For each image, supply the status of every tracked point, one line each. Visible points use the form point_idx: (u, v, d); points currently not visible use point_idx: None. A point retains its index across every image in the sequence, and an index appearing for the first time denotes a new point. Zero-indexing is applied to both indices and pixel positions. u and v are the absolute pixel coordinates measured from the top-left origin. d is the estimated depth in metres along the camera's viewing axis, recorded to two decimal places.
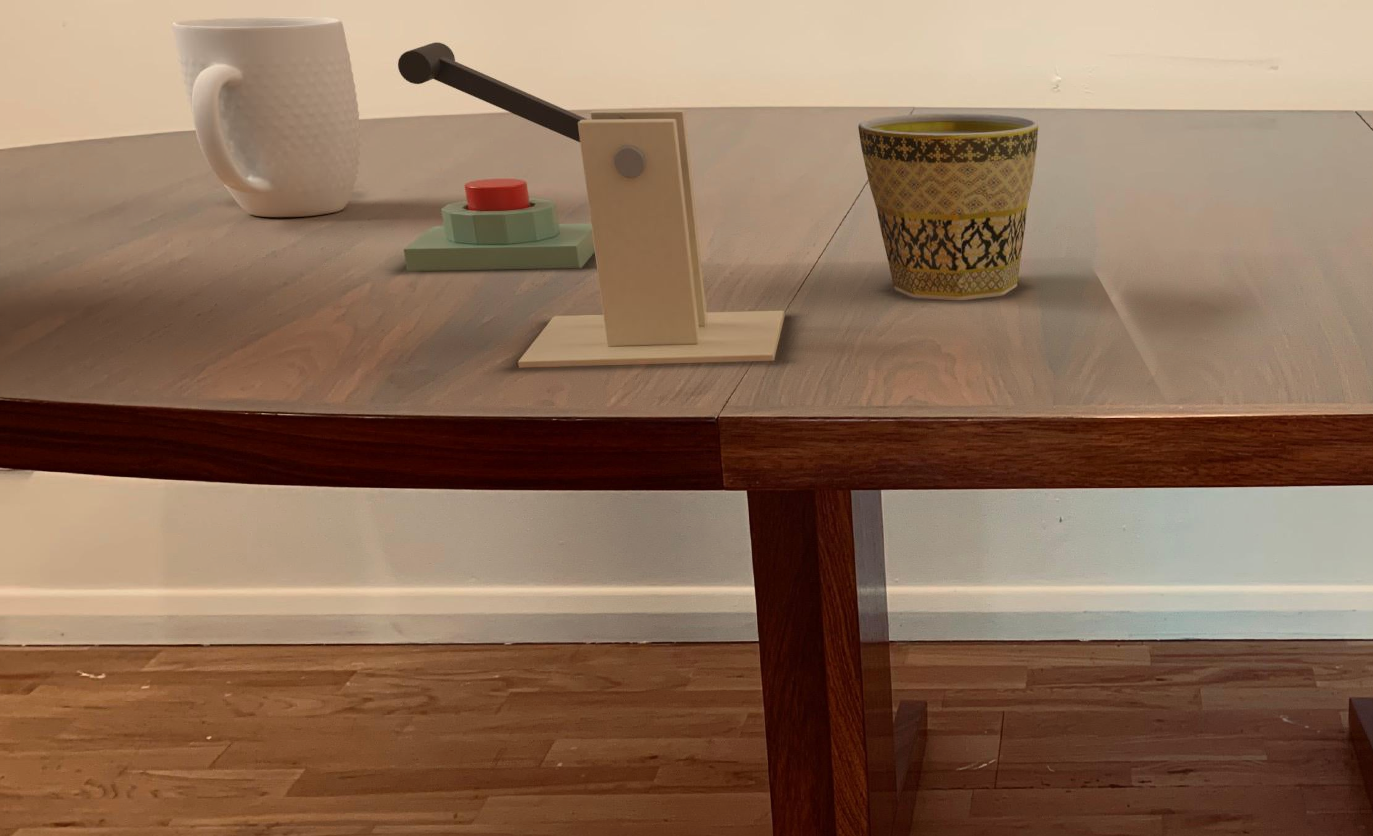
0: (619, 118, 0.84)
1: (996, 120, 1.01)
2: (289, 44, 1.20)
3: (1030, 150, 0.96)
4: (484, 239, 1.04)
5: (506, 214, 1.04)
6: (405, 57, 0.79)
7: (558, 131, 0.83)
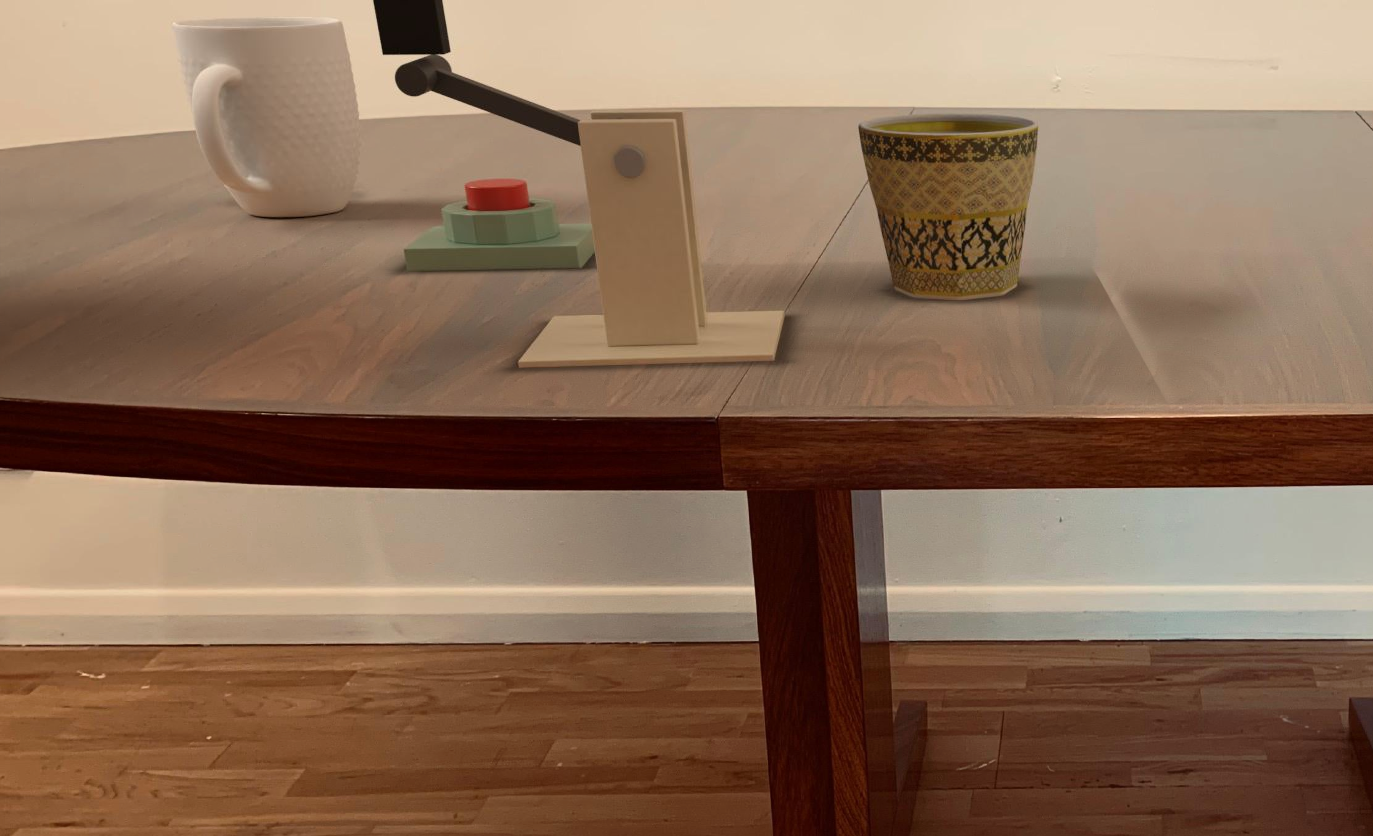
0: None
1: (996, 120, 1.01)
2: (289, 44, 1.20)
3: (1030, 150, 0.96)
4: (484, 239, 1.04)
5: (506, 214, 1.04)
6: (401, 70, 0.79)
7: (557, 136, 0.83)
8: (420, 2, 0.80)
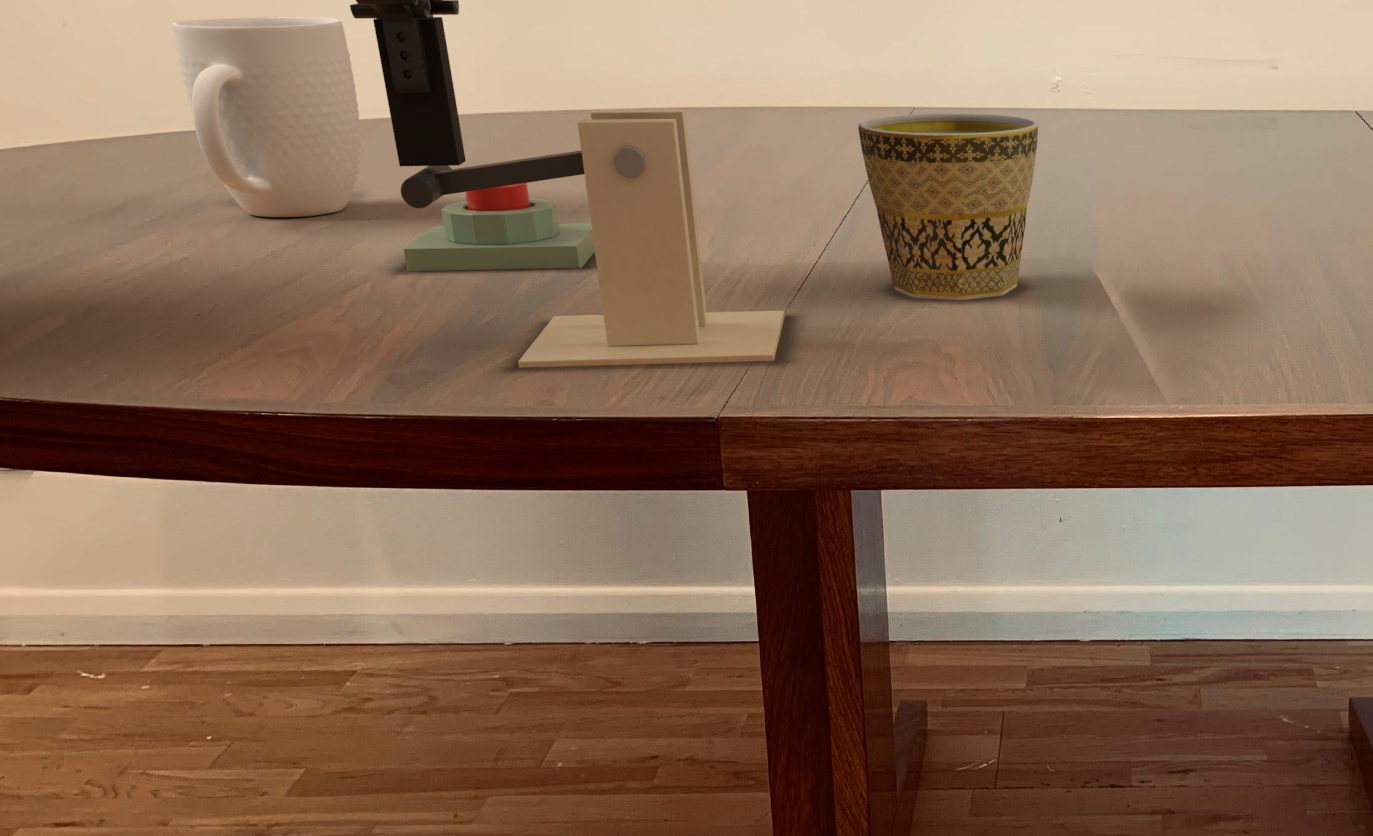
0: None
1: (996, 120, 1.01)
2: (289, 44, 1.20)
3: (1030, 150, 0.96)
4: (484, 239, 1.04)
5: (506, 214, 1.04)
6: (404, 188, 0.81)
7: (562, 175, 0.84)
8: (436, 116, 0.82)
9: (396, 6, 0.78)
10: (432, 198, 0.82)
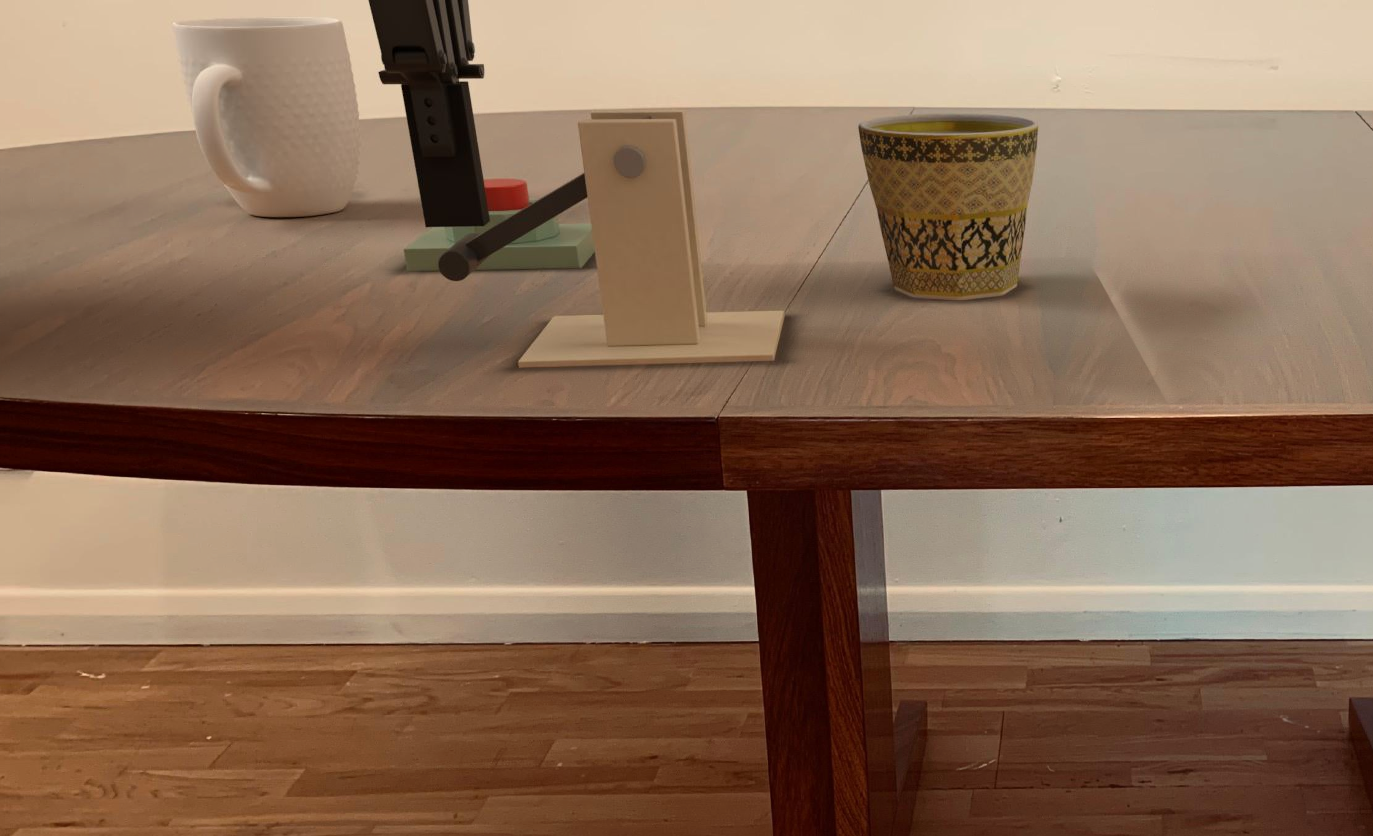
0: None
1: (996, 120, 1.01)
2: (289, 44, 1.20)
3: (1030, 150, 0.96)
4: None
5: (506, 214, 1.04)
6: (441, 266, 0.83)
7: (577, 200, 0.84)
8: (462, 178, 0.83)
9: (424, 74, 0.79)
10: (469, 266, 0.83)
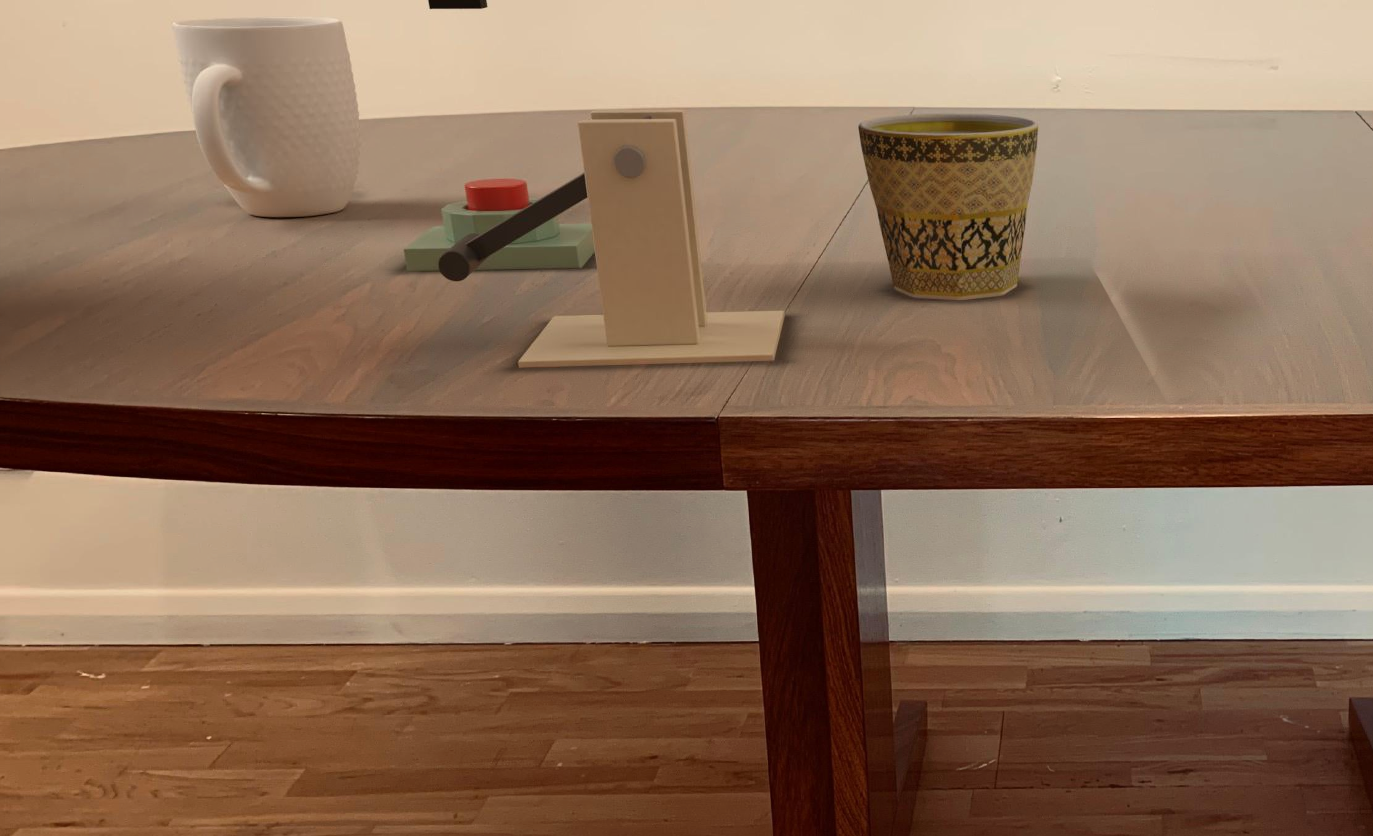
0: None
1: (996, 120, 1.01)
2: (289, 44, 1.20)
3: (1030, 150, 0.96)
4: None
5: (506, 214, 1.04)
6: (441, 266, 0.83)
7: (577, 201, 0.84)
8: None
9: None
10: (469, 266, 0.83)
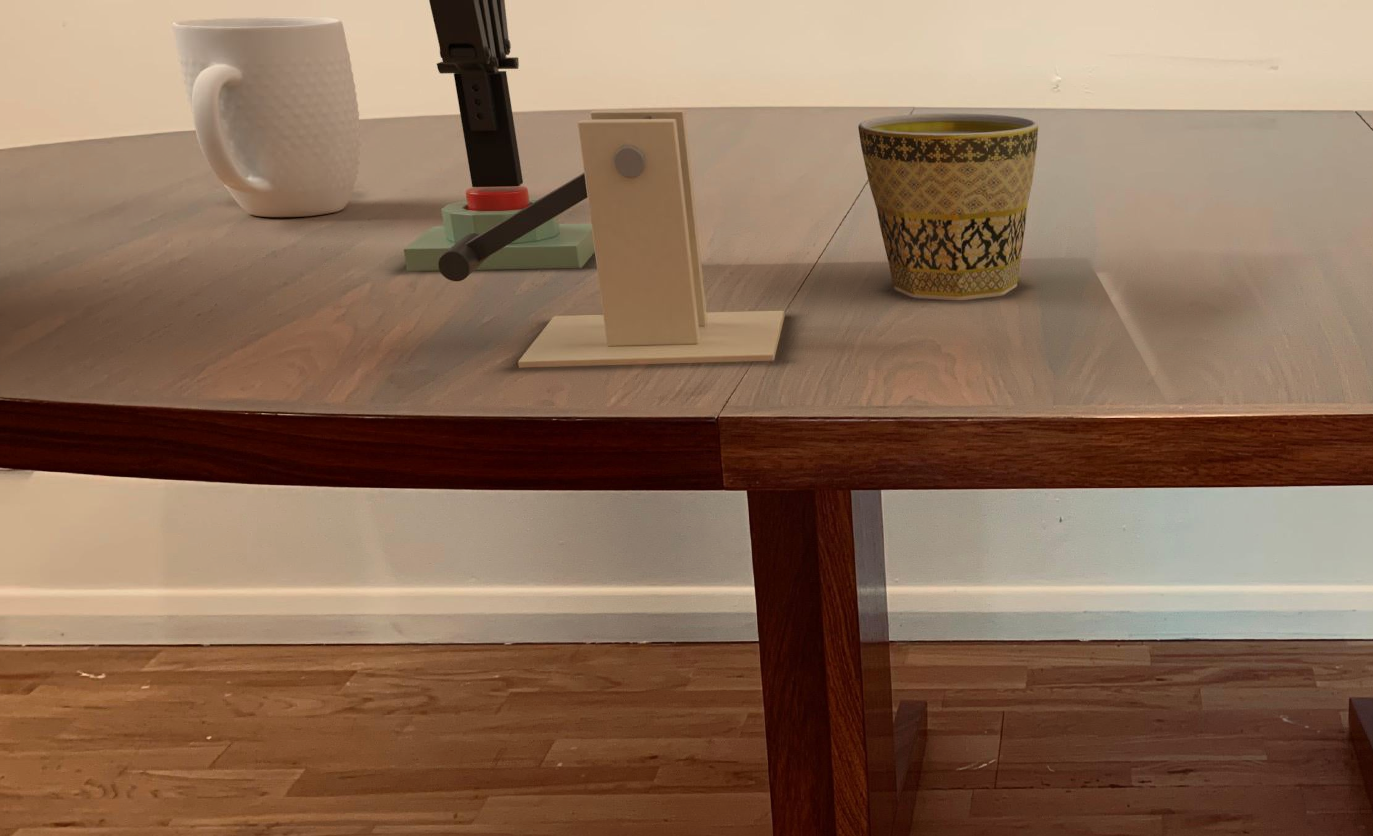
0: None
1: (996, 120, 1.01)
2: (289, 44, 1.20)
3: (1030, 150, 0.96)
4: None
5: (506, 214, 1.04)
6: (441, 266, 0.83)
7: (577, 201, 0.84)
8: (501, 148, 1.05)
9: (473, 65, 1.01)
10: (469, 266, 0.83)
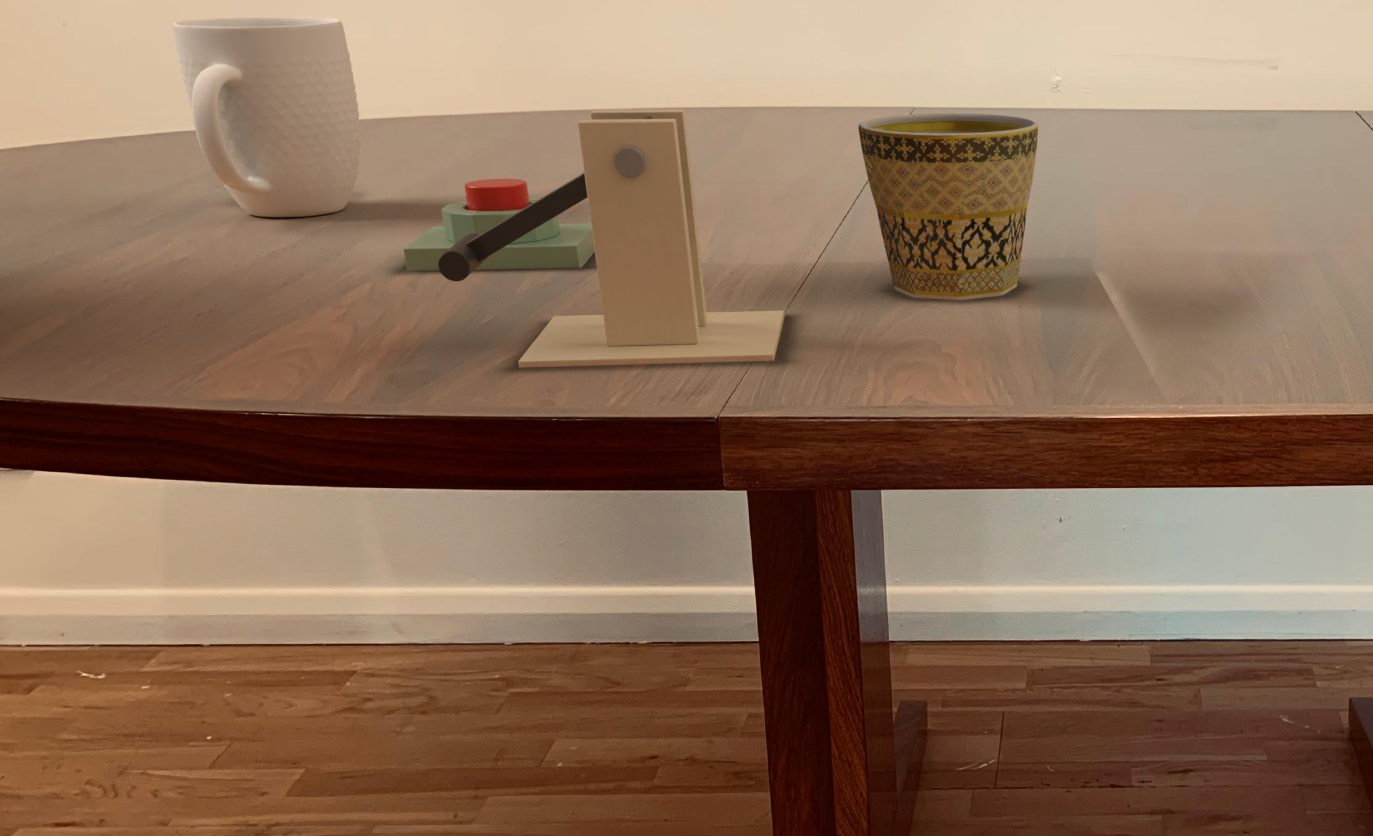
0: None
1: (996, 120, 1.01)
2: (289, 44, 1.20)
3: (1030, 150, 0.96)
4: None
5: (506, 214, 1.04)
6: (441, 266, 0.83)
7: (577, 201, 0.84)
8: None
9: None
10: (469, 266, 0.83)
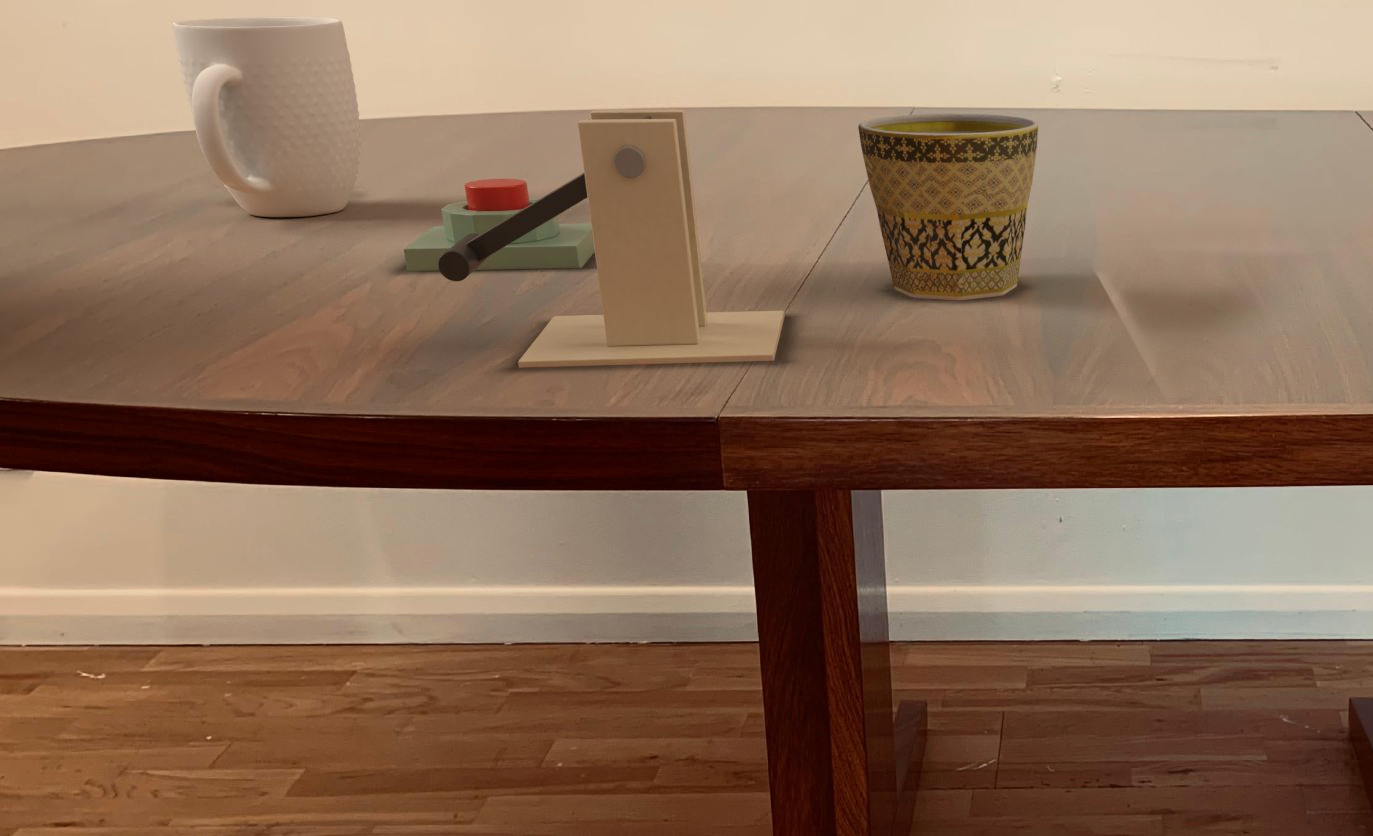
0: None
1: (996, 120, 1.01)
2: (289, 44, 1.20)
3: (1030, 150, 0.96)
4: None
5: (506, 214, 1.04)
6: (441, 266, 0.83)
7: (577, 201, 0.84)
8: None
9: None
10: (469, 266, 0.83)
